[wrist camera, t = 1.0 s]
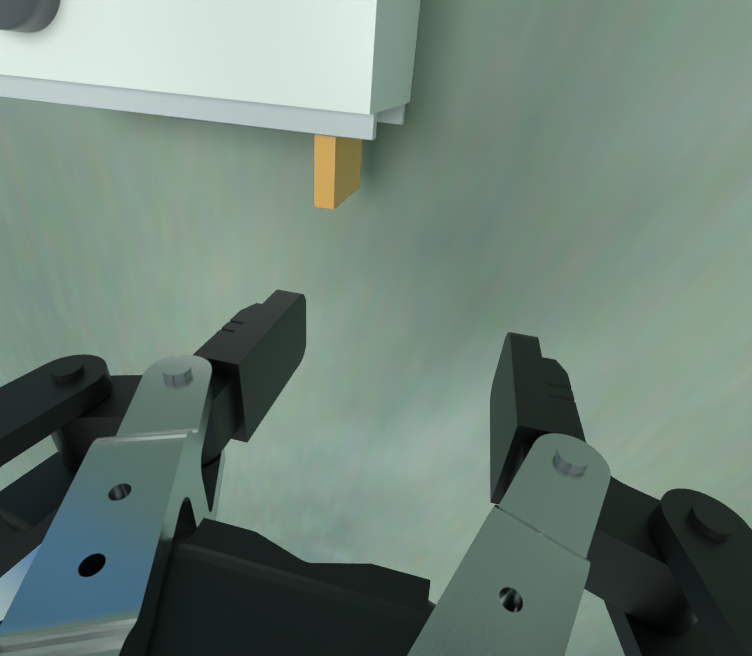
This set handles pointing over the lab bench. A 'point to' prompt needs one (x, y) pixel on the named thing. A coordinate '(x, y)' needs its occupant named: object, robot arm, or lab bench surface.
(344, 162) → the side door
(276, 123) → the camera housing
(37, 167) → the lab bench surface
